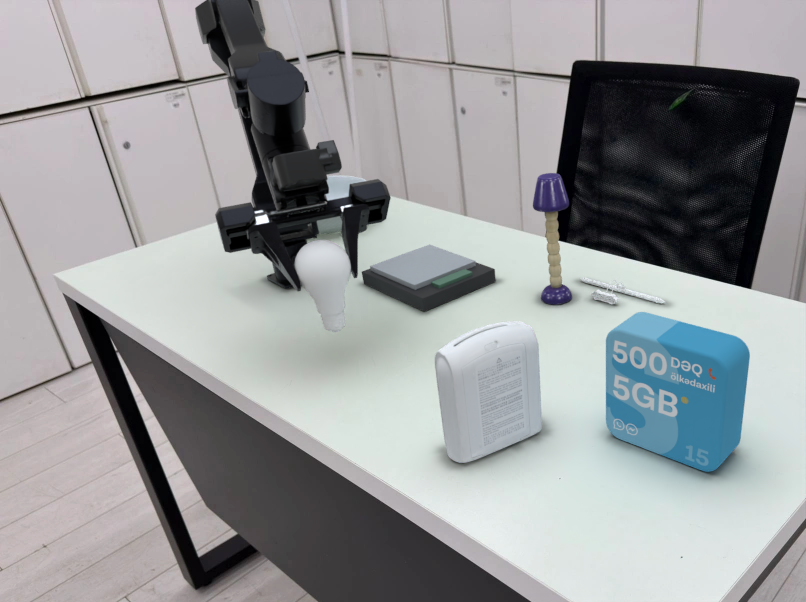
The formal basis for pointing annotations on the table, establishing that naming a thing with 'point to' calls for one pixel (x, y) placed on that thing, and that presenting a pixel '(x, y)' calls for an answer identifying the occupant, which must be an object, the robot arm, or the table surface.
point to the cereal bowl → (336, 190)
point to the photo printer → (489, 389)
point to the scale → (428, 277)
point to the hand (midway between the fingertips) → (327, 283)
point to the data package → (676, 389)
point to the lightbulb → (325, 279)
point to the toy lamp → (552, 233)
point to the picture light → (612, 297)
